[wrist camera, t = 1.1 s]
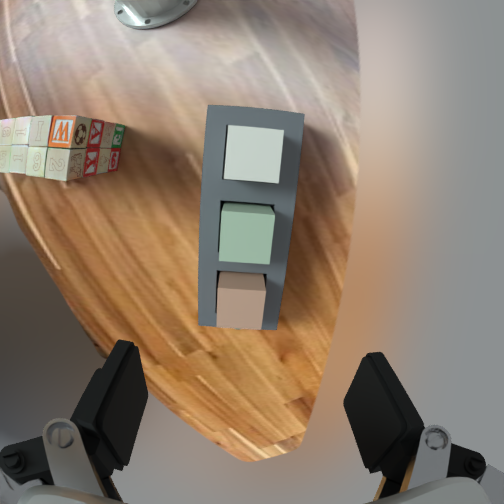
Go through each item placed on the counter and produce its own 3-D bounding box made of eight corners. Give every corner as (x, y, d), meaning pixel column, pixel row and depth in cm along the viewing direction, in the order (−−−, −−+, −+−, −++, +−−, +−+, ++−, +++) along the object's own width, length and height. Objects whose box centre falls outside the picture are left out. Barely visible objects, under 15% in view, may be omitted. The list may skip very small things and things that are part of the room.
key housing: (212, 112, 29) (207, 103, 24) (295, 119, 30) (305, 113, 25) (203, 305, 38) (198, 328, 33) (272, 309, 39) (277, 332, 34)
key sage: (224, 201, 30) (221, 210, 25) (269, 205, 30) (275, 215, 25) (222, 244, 32) (218, 260, 27) (265, 247, 32) (269, 264, 27)
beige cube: (220, 268, 33) (217, 287, 28) (262, 271, 33) (266, 290, 28) (219, 304, 34) (216, 327, 30) (258, 306, 35) (261, 329, 30)
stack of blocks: (16, 159, 29) (-37, 169, 17) (21, 121, 27) (-32, 122, 15) (118, 171, 31) (65, 182, 20) (127, 124, 29) (76, 115, 18)
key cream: (230, 130, 27) (228, 125, 22) (276, 134, 27) (283, 130, 23) (226, 175, 29) (223, 178, 24) (272, 178, 29) (278, 183, 24)
